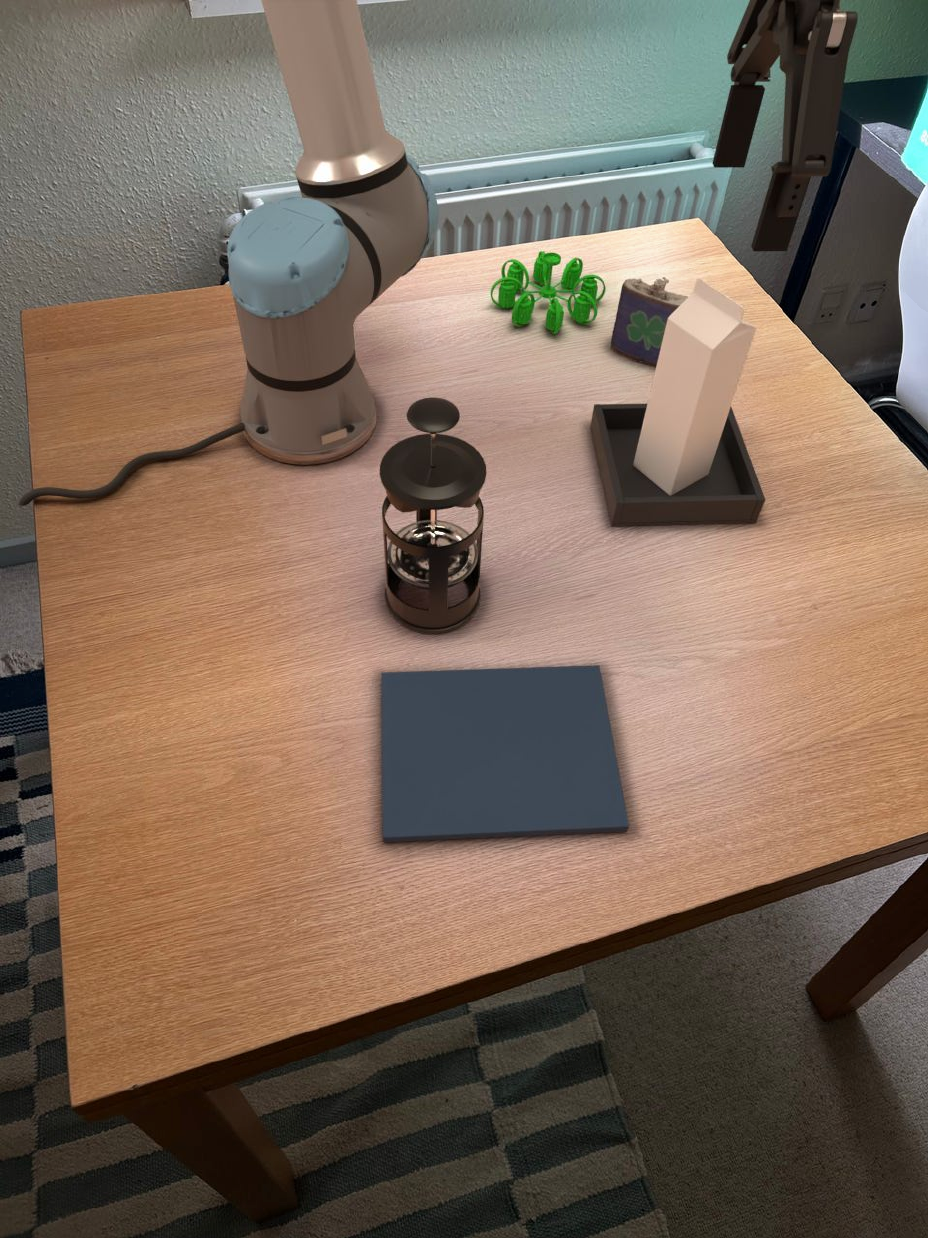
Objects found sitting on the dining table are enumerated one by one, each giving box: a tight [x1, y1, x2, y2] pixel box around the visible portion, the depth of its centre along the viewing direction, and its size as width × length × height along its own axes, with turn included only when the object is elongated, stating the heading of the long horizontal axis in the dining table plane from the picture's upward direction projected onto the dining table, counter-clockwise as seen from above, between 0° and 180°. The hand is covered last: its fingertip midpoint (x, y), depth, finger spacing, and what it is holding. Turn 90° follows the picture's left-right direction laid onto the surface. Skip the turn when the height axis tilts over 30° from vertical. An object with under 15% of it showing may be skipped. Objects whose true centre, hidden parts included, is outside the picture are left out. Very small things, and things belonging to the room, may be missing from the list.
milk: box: [633, 278, 757, 496], centre depth 92 cm, size 6×6×22 cm
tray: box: [589, 403, 766, 527], centre depth 100 cm, size 16×16×4 cm
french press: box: [379, 396, 488, 635], centre depth 81 cm, size 12×9×23 cm
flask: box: [610, 276, 689, 368], centre depth 110 cm, size 9×3×11 cm, turn 61°
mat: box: [381, 664, 630, 843], centre depth 79 cm, size 20×16×1 cm
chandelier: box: [490, 250, 606, 335], centre depth 118 cm, size 15×15×7 cm
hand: (747, 205), depth 77 cm, fingers open, 13 cm apart
